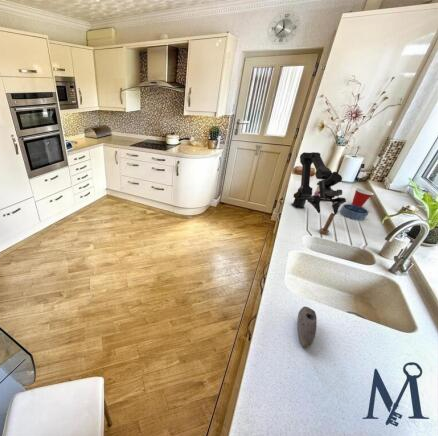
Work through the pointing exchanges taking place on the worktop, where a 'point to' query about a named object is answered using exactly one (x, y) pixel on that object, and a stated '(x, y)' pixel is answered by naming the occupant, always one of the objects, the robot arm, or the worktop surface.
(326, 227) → the muddler
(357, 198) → the plastic cup
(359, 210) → the bowl
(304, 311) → the perforated stone tool
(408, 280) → the worktop surface
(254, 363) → the worktop surface
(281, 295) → the worktop surface
